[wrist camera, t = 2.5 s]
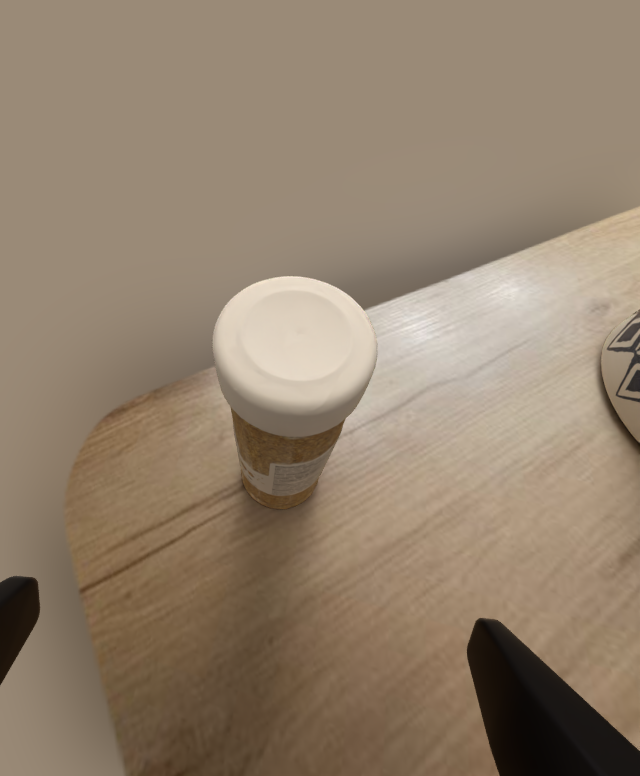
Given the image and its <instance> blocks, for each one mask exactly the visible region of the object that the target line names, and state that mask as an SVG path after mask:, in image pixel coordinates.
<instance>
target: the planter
mask: <svg viewBox="0 0 640 776" xmlns="http://www.w3.org/2000/svg"><path fill="white" fill-rule="evenodd" d="M601 369H602V376H603V380H604V384H605V388H606V391H607V393H608V396H609V398H610V400H611V403H612V405H613V407H614V408H615V410H616V412H617V414H618V415H619V417H620V419H621V420H622V422H623V423H624V425H625V426H626V427H627V429H628V430H629V432H630V433H631V434H632V435H633V437H634V438H635V439H636V440H637V441H638V442H639V443H640V309H639V310H638V311H636V312H635V313H634V314H632V315H631V316H630V317H628V318H627V319H626V320H625V321H623V322H622V323H621V324H619V325H618V326H617V327H616V328H614V329H613V330H612V332H611V333H610V334H609V336H608V337H607V339H606V341H605V344H604V346H603V349H602V356H601Z"/></svg>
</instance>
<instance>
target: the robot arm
mask: <svg viewBox="0 0 640 776" xmlns="http://www.w3.org/2000/svg"><path fill="white" fill-rule="evenodd" d="M39 613H40V602H39V590H38V582H37V580H36V579H35V578H33V577H22V576H13V577H10V578H8V579H6V580H4V581H2V582H0V685H1V683H2V681H3V680H4V678H5V676H6V675H7V673H8V671H9V669H10V667H11V666H12V664H13V662H14V661H15V659H16V657H17V656H18V654H19V652H20V650H21V648H22V647H23V645H24V643H25V642H26V640H27V638H28V637H29V635H30V633H31V631H32V630H33V628H34V626H35V624H36V622H37V620H38V617H39ZM467 658H468V662H469V666H470V670H471V674H472V678H473V682H474V686H475V690H476V694H477V698H478V702H479V706H480V709H481V713H482V717H483V721H484V725H485V729H486V733H487V737H488V740H489V744H490V747H491V751H492V754H493V757H494V760H495V763H496V766H497V769H498V772H499V775H500V776H640V751H639V750H638V749H637V748H636V747H635V746H633V745H632V744H631V743H630V742H629V741H628V740H627V739H626V738H625V737H624V736H623V735H622V734H621V733H619V732H618V731H617V730H616V729H615V728H614V727H613V726H612V725H611V724H610V723H609V722H608V721H607V720H605V719H604V718H603V717H602V716H601V715H600V714H599V713H598V712H597V711H596V710H595V709H594V708H593V707H591V706H590V705H589V704H588V703H587V702H586V701H585V700H584V699H583V698H582V697H581V696H580V695H579V694H577V693H576V692H575V691H574V690H573V689H572V688H571V687H570V686H569V685H568V684H567V683H566V682H565V681H563V680H562V679H561V678H560V677H559V676H558V675H557V674H556V673H555V672H554V671H553V670H552V669H550V668H549V667H548V666H547V665H546V664H545V663H544V662H543V661H542V660H541V659H540V658H539V657H538V656H536V655H535V654H534V653H533V652H532V651H531V650H530V649H529V648H528V647H527V646H526V645H525V644H524V643H522V642H521V641H520V640H519V639H518V638H517V637H516V636H515V635H514V634H513V633H512V632H511V631H510V630H508V629H507V628H506V627H505V626H504V625H503V624H502V623H501V622H499V621H498V620H495V619H486V618H479V619H478V620H477V621H476V622H475V625H474V628H473V631H472V634H471V637H470V640H469V643H468V646H467Z"/></svg>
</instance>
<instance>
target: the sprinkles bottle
mask: <svg viewBox="0 0 640 776" xmlns="http://www.w3.org/2000/svg"><path fill="white" fill-rule="evenodd" d="M212 342H213V343H212V344H213V345H212V346H213V355H214V361H215V366H216V371H217V375H218V380H219V383H220V387H221V390H222V392H223V395H224V397H225V399H226V400H227V402H228V403H229V405H230V406H231V411H232V417H233V429H234V435H235V440H236V445H237V451H238V456H239V461H240V466H241V475H242V481H243V483H244V486H245V488H246V490H247V491H248V493H249V494H250V496H251V497H252V498H253V499H254V500H256V501H257V502H258V503H260V504H262V505H264V506H267V507H269V508H275V509H288V508H290V507H294V506H297V505H299V504H300V503H302V502H304V501H305V500H306V499H307V498H308V497H309V496H310V495H311V494H312V492H313V490H314V488H315V487H316V485H317V482H318V479H319V476H320V475H321V473H322V471H323V469H324V467H325V465H326V463H327V461H328V459H329V456H330V454H331V452H332V450H333V448H334V446H335V444H336V442H337V440H338V438H339V436H340V433H341V431H342V427H343V423H344V421H345V419H346V418H347V417H348V416H349V415H350V414H351V413H352V412H353V411H354V409H355V408H356V407H357V405H358V403H359V402H360V400H361V398H362V396H363V394H364V392H365V390H366V388H367V386H368V384H369V381H370V379H371V376H372V374H373V371H374V369H375V365H376V360H377V339H376V335H375V331H374V328H373V326H372V324H371V321H370V320H369V318H368V316H367V315H366V313H365V312H364V310H363V309H362V308H361V307H360V305H359V304H358V303H357V302H355V301H354V300H353V299H352V298H351V297H350V296H349V295H347V294H346V293H344V292H343V291H341V290H340V289H338V288H336V287H334V286H332V285H330V284H327V283H325V282H322V281H319V280H315V279H311V278H306V277H296V276H285V277H276V278H271V279H267V280H263V281H260V282H257V283H255V284H253V285H251V286H249V287H247V288H245V289H244V290H242V291H240V292H239V293H238V294H236V295H235V296H234V297H233V298H232V299H231V300H230V301H229V302H228V303H227V304H226V306H225V307H224V309H223V310H222V312H221V313H220V315H219V317H218V319H217V322H216V325H215V328H214V333H213V339H212Z"/></svg>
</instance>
